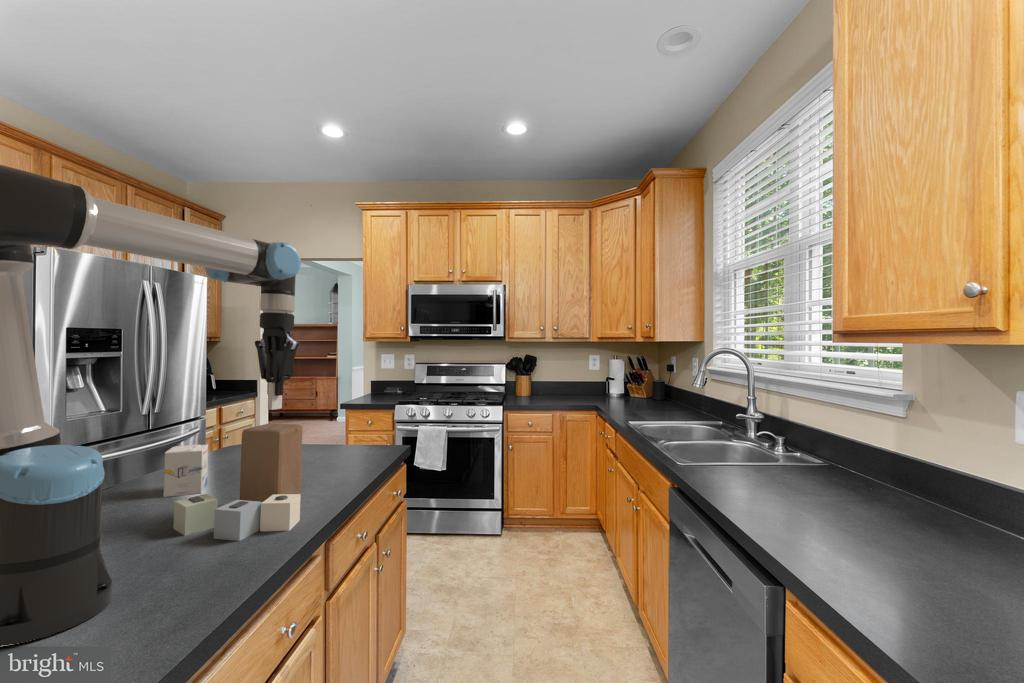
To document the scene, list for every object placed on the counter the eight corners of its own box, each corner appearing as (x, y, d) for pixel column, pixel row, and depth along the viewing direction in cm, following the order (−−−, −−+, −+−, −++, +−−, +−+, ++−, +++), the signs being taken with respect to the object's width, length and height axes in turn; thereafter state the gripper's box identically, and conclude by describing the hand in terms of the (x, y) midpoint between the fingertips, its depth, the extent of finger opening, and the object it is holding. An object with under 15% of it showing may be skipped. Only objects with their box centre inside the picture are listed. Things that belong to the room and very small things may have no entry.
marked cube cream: (289, 531, 96) (290, 501, 96) (260, 531, 95) (261, 502, 95) (299, 520, 102) (300, 492, 102) (272, 521, 101) (273, 493, 101)
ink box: (171, 488, 123) (172, 445, 123) (207, 484, 126) (209, 443, 126) (162, 497, 115) (163, 452, 115) (201, 493, 118) (203, 449, 119)
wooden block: (301, 503, 113) (304, 424, 113) (277, 517, 103) (280, 430, 103) (264, 501, 114) (267, 422, 114) (236, 515, 104) (239, 429, 104)
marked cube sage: (184, 536, 92) (186, 505, 92) (173, 529, 95) (174, 499, 96) (217, 527, 97) (218, 497, 97) (205, 520, 100) (206, 492, 101)
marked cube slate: (239, 541, 90) (240, 510, 90) (213, 538, 91) (214, 507, 91) (260, 529, 96) (261, 500, 96) (236, 527, 97) (237, 498, 97)
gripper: (309, 313, 110) (306, 408, 110) (272, 314, 116) (270, 405, 115) (282, 310, 103) (279, 412, 103) (245, 312, 109) (242, 408, 108)
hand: (274, 408), depth 109 cm, fingers closed
